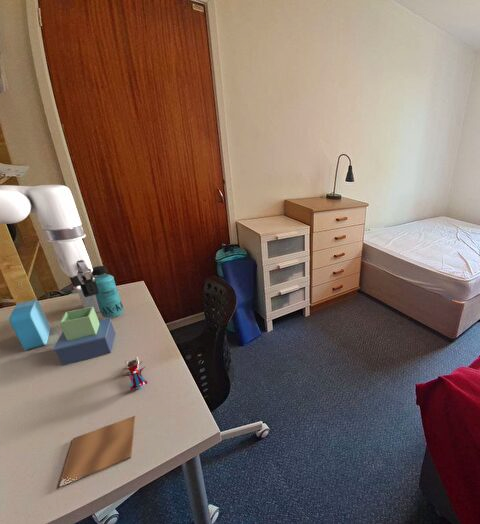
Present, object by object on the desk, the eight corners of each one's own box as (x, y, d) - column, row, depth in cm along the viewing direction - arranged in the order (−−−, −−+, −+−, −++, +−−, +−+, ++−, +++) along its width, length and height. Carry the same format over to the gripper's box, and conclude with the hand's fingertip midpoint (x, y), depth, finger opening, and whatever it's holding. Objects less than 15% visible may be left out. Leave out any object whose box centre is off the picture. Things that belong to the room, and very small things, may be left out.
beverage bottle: (98, 319, 102) (80, 269, 94) (118, 310, 108) (101, 262, 100) (111, 323, 100) (93, 272, 92) (130, 313, 106) (114, 265, 98)
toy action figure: (129, 398, 71) (122, 382, 69) (123, 371, 79) (117, 356, 77) (152, 388, 75) (147, 372, 72) (144, 363, 83) (139, 348, 80)
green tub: (67, 341, 81) (59, 322, 79) (73, 329, 86) (65, 311, 84) (96, 334, 84) (89, 316, 82) (99, 323, 89) (93, 306, 87)
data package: (32, 332, 94) (17, 301, 89) (51, 328, 96) (37, 297, 92) (25, 352, 85) (7, 319, 81) (46, 346, 88) (30, 314, 83)
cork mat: (59, 488, 53) (58, 487, 53) (73, 439, 61) (73, 438, 61) (131, 457, 58) (130, 456, 58) (135, 416, 67) (134, 415, 67)
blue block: (61, 366, 80) (53, 349, 78) (71, 343, 89) (64, 327, 87) (111, 353, 86) (105, 336, 84) (116, 333, 95) (110, 317, 93)
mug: (82, 307, 108) (73, 284, 105) (112, 298, 116) (105, 276, 112) (90, 317, 103) (81, 293, 99) (121, 307, 110) (114, 284, 106)
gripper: (37, 230, 76) (59, 286, 82) (55, 243, 67) (78, 304, 74) (73, 224, 82) (92, 277, 88) (94, 236, 73) (113, 294, 79)
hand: (86, 289), depth 81 cm, fingers open, 9 cm apart
